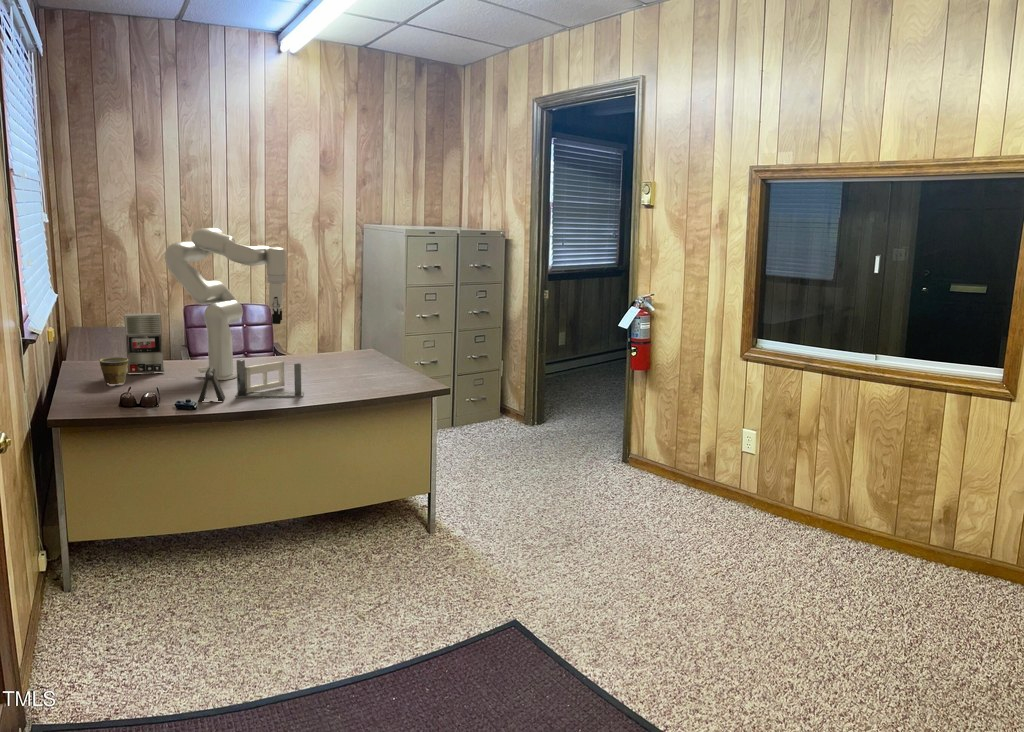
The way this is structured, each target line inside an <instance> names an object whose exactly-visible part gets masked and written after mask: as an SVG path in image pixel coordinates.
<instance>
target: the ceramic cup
mask: <svg viewBox="0 0 1024 732" xmlns="http://www.w3.org/2000/svg"><path fill="white" fill-rule="evenodd" d="M99 366H100V369H101V372H102V375H103V380H104V383H105V382H106V383H109V384H119V383H124V382H125V383H126V377H127V371H128V367H127V366H128V359H127V357H122V356H121V357H120V356H117V357H115V356H114V357H112V356H111V357H105V358H100V360H99Z"/></svg>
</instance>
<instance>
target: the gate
mask: <svg viewBox="0 0 1024 732" xmlns="http://www.w3.org/2000/svg"><path fill="white" fill-rule="evenodd" d="M274 371H278V380H277V381H272V382H268V372H269V373H270V372H274ZM256 374H262V384H261V383H260V384H256V385H251V384H252V383H251V382H252V381H251V375H256ZM245 383H246V393H250V392H261V391H264V390H271V389H274V388H275V389H276V388H280V387H281V388H282V387H285V384H286V383H285V361H282V360H280V361H274V362H268V363H262V364H255V365H250V366H245Z"/></svg>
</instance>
